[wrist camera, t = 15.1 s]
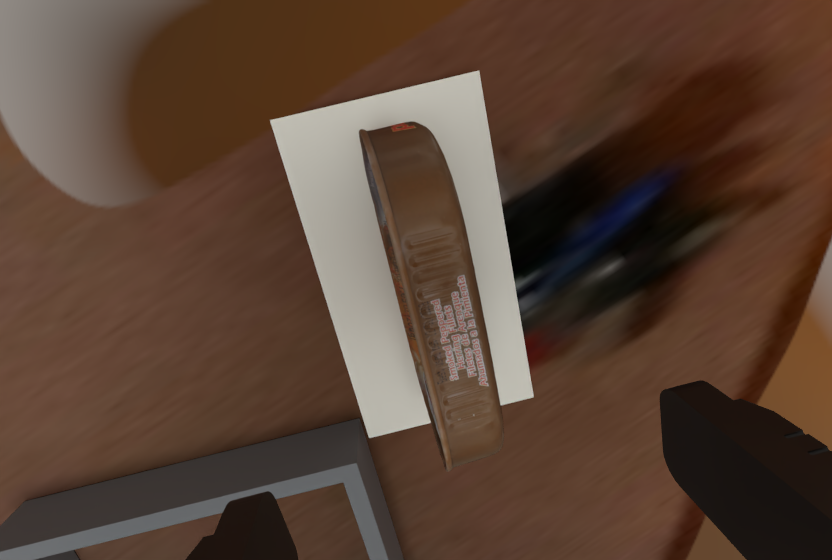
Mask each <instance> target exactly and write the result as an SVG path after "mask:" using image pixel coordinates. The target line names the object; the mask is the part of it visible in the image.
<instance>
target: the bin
mask: <svg viewBox="0 0 832 560" xmlns="http://www.w3.org/2000/svg"><path fill="white" fill-rule="evenodd" d="M339 483H344V486H345V489H346V492H347V495H348V497H349V500H350V503H351V506H352V509H353V512H354V515H355V518H356V521H357V523H358V526H359V529H360V532H361V535H362V538H363V541H364V544H365V547H366V549H367V552H368V555H369V558H370V560H404V558H403V555H402V552H401V548H400V545H399V542H398V539H397V536H396V532H395V529H394V526H393V523H392V520H391V517H390V513H389V510H388V507H387V504H386V501H385V497H384V494H383V491H382V488H381V485H380V482H379V478H378V475H377V472H376V469H375V466H374V462H373V459H372V456H371V453H370V450H369V447H368V443H367V440H366V437H365V434H364V431H363V428H362V424H361V421H360V418H358V419H354V420H350V421H346V422H342V423H338V424H334V425H330V426H326V427H322V428H318V429H314V430H310V431H306V432H302V433H298V434H294V435H290V436H286V437H282V438H278V439H274V440H270V441H266V442H262V443H258V444H254V445H249V446H245V447H241V448H237V449H233V450H229V451H225V452H221V453H217V454H213V455H209V456H205V457H201V458H197V459H193V460H189V461H185V462H181V463H177V464H173V465H169V466H165V467H161V468H157V469H153V470H149V471H145V472H141V473H137V474H133V475H129V476H125V477H121V478H117V479H113V480H109V481H105V482H101V483H97V484H92V485H88V486H84V487H80V488H76V489H72V490H68V491H64V492H60V493H56V494H52V495H48V496H44V497H40V498H36V499H32V500H28V501H25V502H24V503H23V504H22V505H21V506H20V507H19V508H18V509H17V510H16V511H15V512H14V513H13V514H12V515H11V516H10V517H9V518H8V519H7V520H6V521H5V522H4V523H3V524H2V525H1V526H0V560H79V558H78V556H77V555H76V553H75V552H74V550H75V549H79V548H83V547H87V546H91V545H95V544H99V543H103V542H107V541H111V540H115V539H119V538H123V537H127V536H131V535H135V534H139V533H143V532H147V531H151V530H155V529H159V528H163V527H167V526H171V525H175V524H179V523H183V522H187V521H191V520H195V519H199V518H203V517H207V516H211V515H215V514H219V513H223V511H224V509H225V507H226V505H227V504H228V503H229V502H230V501H232V500H235V499H239V498H243V497H247V496H251V495H255V494H259V493H262V492H266V491H269V492H271V493H272V494H273V495H274V497H275V499H279V498H283V497H287V496H291V495H295V494H299V493H303V492H307V491H311V490H315V489H319V488H323V487H327V486H331V485H335V484H339Z"/></svg>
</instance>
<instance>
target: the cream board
mask: <svg viewBox="0 0 832 560" xmlns="http://www.w3.org/2000/svg"><path fill="white" fill-rule="evenodd" d="M410 121H413V122H417V123H419V124H421V125H423V126H425V127H427V128H428V129H429V130H430V131H431V132H432V134H433V135H434V137H435V138H436V140H437V142H438V144H439V146H440V148H441V150H442V152H443V154H444V156H445V159H446V162H447V164H448V167H449V170H450V172H451V175H452V178H453V181H454V185H455V188H456V191H457V195H458V198H459V202H460V206H461V210H462V214H463V218H464V222H465V226H466V231H467V236H468V241H469V245H470V250H471V255H472V260H473V265H474V269H475V274H476V280H477V284H478V289H479V294H480V299H481V304H482V309H483V315H484V320H485V324H486V329H487V334H488V340H489V345H490V350H491V356H492V361H493V366H494V372H495V377H496V383H497V388H498V394H499V399H500V405H505V404H509V403H513V402H517V401H521V400H525V399H529V398H533V397H534V395H533V389H532V383H531V378H530V372H529V366H528V360H527V354H526V348H525V342H524V336H523V330H522V324H521V318H520V312H519V306H518V300H517V294H516V288H515V282H514V276H513V270H512V264H511V258H510V252H509V246H508V240H507V234H506V228H505V222H504V216H503V210H502V204H501V198H500V192H499V186H498V180H497V174H496V169H495V163H494V157H493V151H492V145H491V139H490V133H489V127H488V121H487V115H486V109H485V103H484V97H483V91H482V85H481V79H480V73H479V71H475V72H471V73H466V74H462V75H458V76H454V77H450V78H445V79H441V80H437V81H433V82H429V83H424V84H420V85H416V86H412V87H408V88H403V89H399V90H395V91H391V92H387V93H383V94H378V95H374V96H370V97H366V98H362V99H357V100H353V101H349V102H345V103H341V104H336V105H332V106H328V107H324V108H320V109H315V110H311V111H307V112H303V113H299V114H295V115H290V116H286V117H282V118H278V119H274V120H270V122H271V125H272V129H273V132H274V135H275V138H276V141H277V145H278V148H279V151H280V154H281V157H282V161H283V164H284V167H285V170H286V173H287V177H288V180H289V183H290V186H291V190H292V193H293V196H294V199H295V202H296V206H297V209H298V212H299V215H300V218H301V222H302V225H303V228H304V231H305V234H306V238H307V241H308V244H309V247H310V250H311V254H312V257H313V260H314V263H315V266H316V270H317V273H318V276H319V279H320V283H321V286H322V289H323V292H324V295H325V299H326V302H327V305H328V308H329V311H330V315H331V318H332V321H333V324H334V327H335V331H336V334H337V337H338V340H339V343H340V347H341V350H342V353H343V356H344V360H345V363H346V366H347V369H348V372H349V376H350V379H351V382H352V385H353V388H354V392H355V395H356V398H357V401H358V404H359V408H360V411H361V414H362V417H363V420H364V424H365V427H366V430H367V433H368V437H369V438H372V437H376V436H380V435H384V434H388V433H392V432H396V431H400V430H404V429H408V428H412V427H416V426H420V425H424V424H428V423H431V421H430V418H429V415H428V411H427V408H426V405H425V401H424V397H423V394H422V391H421V387H420V384H419V380H418V377H417V373H416V369H415V366H414V361H413V358H412V354H411V351H410V347H409V343H408V339H407V335H406V332H405V328H404V324H403V320H402V316H401V312H400V308H399V304H398V300H397V296H396V292H395V288H394V284H393V280H392V276H391V272H390V268H389V264H388V260H387V256H386V252H385V249H384V245H383V241H382V236H381V233H380V229H379V225H378V221H377V216H376V212H375V208H374V203H373V200H372V197H371V193H370V188H369V185H368V181H367V177H366V172H365V167H364V161H363V155H362V148H361V143H360V138H359V130H360V129H364V130H366V131H370V130H375V129H379V128H384V127H388V126H392V125H396V124H400V123H404V122H410Z"/></svg>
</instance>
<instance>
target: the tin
mask: <svg viewBox="0 0 832 560" xmlns="http://www.w3.org/2000/svg"><path fill="white" fill-rule="evenodd" d="M359 138H360V143H361V148H362V155H363V161H364V167H365V172H366V177H367V181H368V185H369V188H370V193H371V197H372V200H373V203H374V208H375V212H376V216H377V221H378V225H379V229H380V233H381V236H382V241H383V245H384V249H385V252H386V256H387V260H388V264H389V268H390V272H391V276H392V280H393V284H394V288H395V292H396V296H397V300H398V304H399V308H400V312H401V316H402V320H403V324H404V328H405V332H406V335H407V339H408V343H409V347H410V351H411V354H412V358H413V361H414V366H415V369H416V373H417V377H418V380H419V384H420V387H421V391H422V394H423V397H424V401H425V405H426V408H427V411H428V415H429V418H430V421H431V424H432V427H433V430H434V434H435V438H436V441H437V445H438V448H439V451H440V455H441V457H442V460H443V463H444V467H445V469H446V471H451V469H452V468H453V467H456V466H460V465H463V464H466V463H469V462H473V461H476V460H479V459H482V458H485V457H488V456H491V455H493V454H495V453H497V452H498V451H499V450H500V449H501V448H502V445H503V441H504V428H503V417H502V411H501V405H500V399H499V394H498V388H497V383H496V377H495V372H494V366H493V361H492V356H491V350H490V345H489V340H488V334H487V329H486V324H485V320H484V315H483V309H482V304H481V299H480V294H479V289H478V284H477V280H476V274H475V269H474V265H473V260H472V255H471V250H470V245H469V241H468V236H467V231H466V226H465V222H464V218H463V214H462V210H461V206H460V202H459V198H458V195H457V191H456V188H455V185H454V181H453V178H452V175H451V172H450V170H449V167H448V164H447V162H446V159H445V156H444V154H443V152H442V150H441V148H440V146H439V144H438V142H437V140H436V138H435V137H434V135H433V134H432V132H431V131H430V130H429V129H428V128H427V127H425V126H423V125H421V124H419V123H417V122H413V121H410V122H404V123H400V124H396V125H392V126H388V127H384V128H379V129H375V130H370V131H366V130H364V129H360V130H359Z"/></svg>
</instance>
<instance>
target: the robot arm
mask: <svg viewBox="0 0 832 560" xmlns="http://www.w3.org/2000/svg"><path fill="white" fill-rule="evenodd" d="M660 412H661V427H662V442H663V454H664V458H665V461H666V464H667V466H668V468H669V471H670V472H671V474H672V476H673V478H674V479H675V481H676V482H677V483H678V484H679V486H680V487H681V488H682V489H683V490H684V491H685V492H686V493H687V495H688V496H689V497H690V498H691V499H692V500H693V501H694V502H695V503H696V504H697V506H698V507H699V508H700V509H701V510H702V511H703V512H704V513H705V514H706V515H707V517H708V518H709V519H710V520H711V521H712V522H713V523H714V524H715V525H716V526H717V528H718V529H719V530H720V531H721V532H722V533H723V534H724V535H725V536H726V537H727V539H728V540H729V541H730V542H731V543H732V544H733V545H734V546H735V547H736V548H737V550H738V551H739V552H740V553H741V554H742V555H743V556H744V557H745V558H746V559H747V560H832V451H829V450H828V448H827V446H826V445H824V444H823V443H821V442H820V441H818V440H817V439H815V438H814V437H812V436H811V435H809V434H807V435H805V434H804V433H803V430H802V429H800V428H798V427H797V426H795V425H794V424H792V423H791V422H789V421H788V420H786V419H785V418H783V417H781V416H780V415H779V414H777V413H775V412H774V411H771V410H769V409H766V408H764V407H761V406H758V405H756V404H753V403H750V402H748V401H745V400H742V399H737V400H732V399H731V398H729V397H728V396H726V395H725V394H724V393H722V392H721V391H719V390H718V389H716V388H715V387H714V386H712V385H711V384H709V383H707V382H705V381H696V382H692V383H688V384H684V385H680V386H676V387H673V388H669V389H665V390H663V391H662V392H661V394H660ZM186 560H298V555H297V551H296V547H295V545H294V542H293V540H292V537H291V535H290V533H289V530H288V528H287V525H286V523H285V521H284V518H283V516H282V513H281V511H280V509H279V506H278V504H277V501H276V499H275V497H274V495H273V494H272V493H271V492H269V491H266V492H262V493H259V494H255V495H251V496H247V497H243V498H239V499H235V500H232V501H230V502H229V503H228V504H227V505H226V507H225V509H224V511H223V514H222V516H221V519H220V521H219V523H218V526H217V528H216V531H215V533H214V535H210V536H206V537H203V539H202V540H201V541H200V542H199V544H198V545H197V546H196V547H195V549H194V550H193V551H192V552H191V554H190V555H189V556H188V557H187V559H186Z"/></svg>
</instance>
